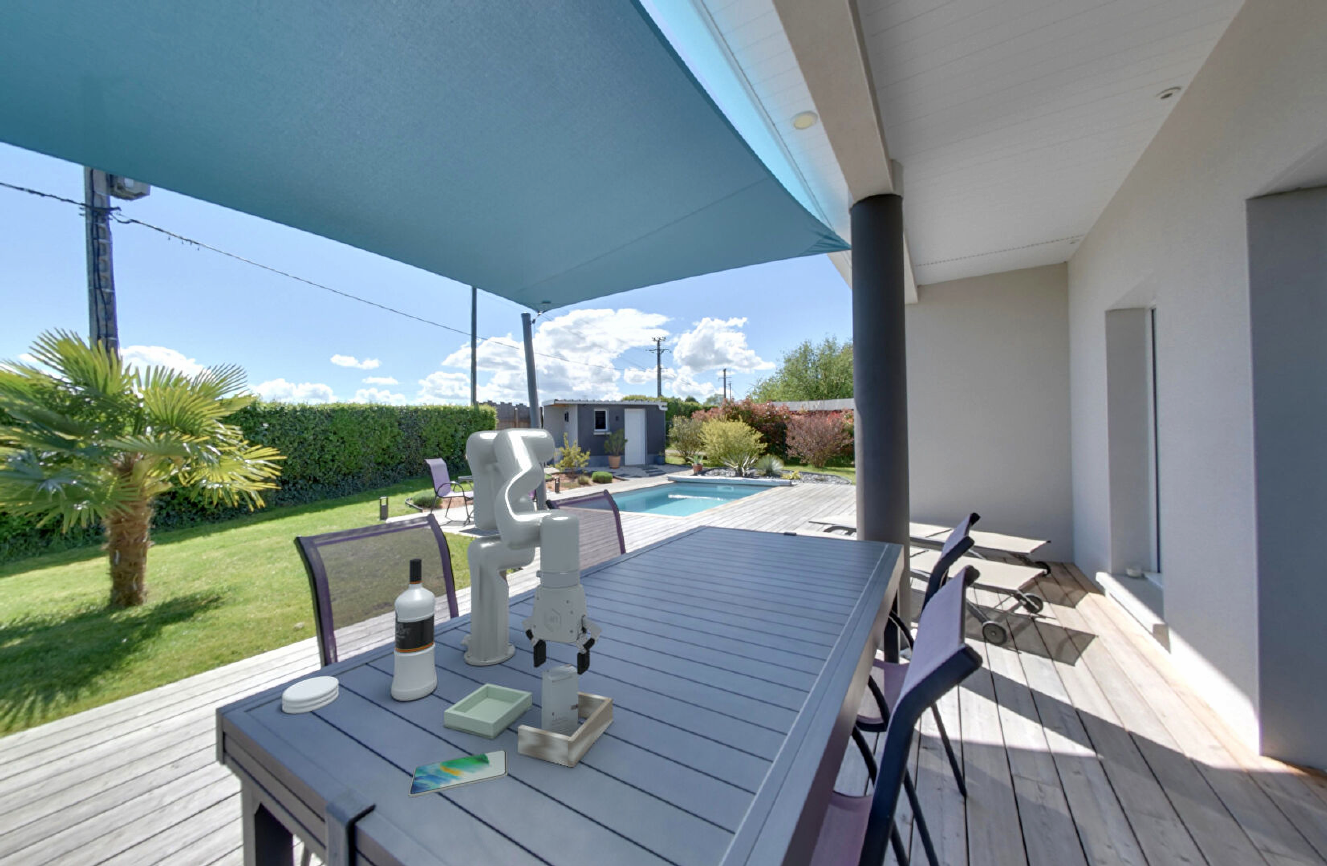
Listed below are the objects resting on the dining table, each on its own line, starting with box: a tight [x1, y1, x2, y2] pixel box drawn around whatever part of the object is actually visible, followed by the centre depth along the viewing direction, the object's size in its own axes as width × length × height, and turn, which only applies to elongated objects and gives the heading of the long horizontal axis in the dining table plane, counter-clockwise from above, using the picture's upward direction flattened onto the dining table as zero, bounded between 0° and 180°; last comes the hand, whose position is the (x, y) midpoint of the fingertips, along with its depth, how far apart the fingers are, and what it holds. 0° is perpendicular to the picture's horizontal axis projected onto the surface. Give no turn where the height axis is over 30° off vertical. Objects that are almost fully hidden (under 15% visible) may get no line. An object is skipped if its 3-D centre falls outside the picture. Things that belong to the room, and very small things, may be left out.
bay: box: [517, 690, 614, 768], centre depth 92 cm, size 12×15×4 cm
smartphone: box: [408, 749, 508, 798], centre depth 82 cm, size 7×1×15 cm
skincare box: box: [541, 663, 579, 737], centre depth 92 cm, size 6×4×12 cm
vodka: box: [390, 557, 438, 702], centre depth 109 cm, size 9×9×30 cm
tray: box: [443, 682, 533, 741], centre depth 99 cm, size 12×12×3 cm
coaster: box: [281, 675, 340, 715], centre depth 105 cm, size 10×10×4 cm
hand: (561, 668), depth 92 cm, fingers open, 9 cm apart
